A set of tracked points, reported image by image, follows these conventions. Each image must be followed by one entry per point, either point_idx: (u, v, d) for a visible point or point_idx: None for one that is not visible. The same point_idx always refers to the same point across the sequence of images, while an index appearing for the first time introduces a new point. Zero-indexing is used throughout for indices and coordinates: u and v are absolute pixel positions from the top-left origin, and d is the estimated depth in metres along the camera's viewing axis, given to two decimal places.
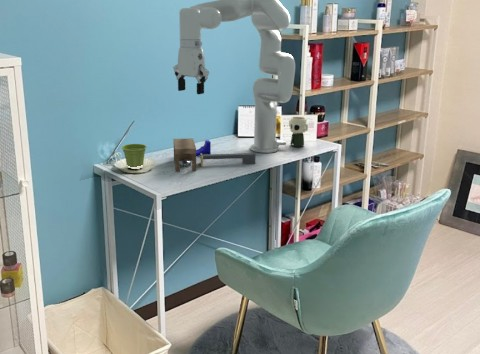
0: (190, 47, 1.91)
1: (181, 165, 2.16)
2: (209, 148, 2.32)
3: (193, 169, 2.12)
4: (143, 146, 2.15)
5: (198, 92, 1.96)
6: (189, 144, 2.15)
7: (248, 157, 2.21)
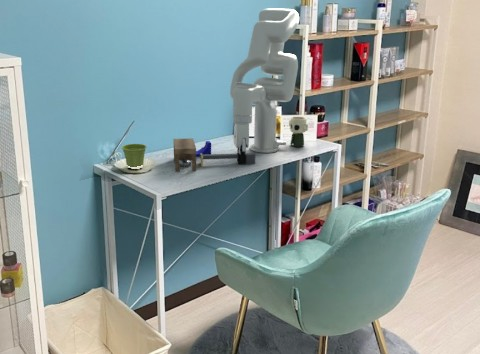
0: None
1: (183, 165, 2.16)
2: (210, 149, 2.30)
3: (193, 169, 2.12)
4: (143, 146, 2.15)
5: None
6: (189, 144, 2.15)
7: (248, 157, 2.21)
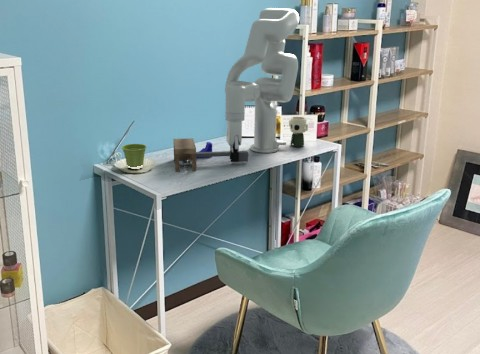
0: None
1: (190, 163, 2.18)
2: (211, 150, 2.29)
3: (193, 169, 2.12)
4: (143, 146, 2.15)
5: None
6: (189, 144, 2.15)
7: (241, 155, 2.20)
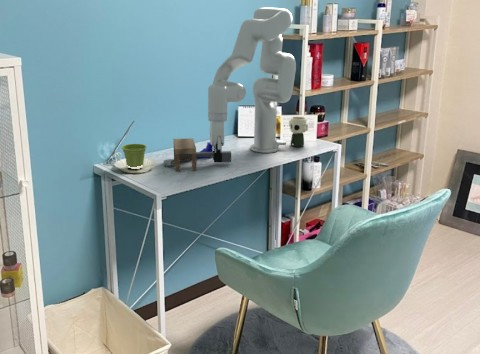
0: None
1: None
2: (211, 150, 2.28)
3: (193, 169, 2.12)
4: (143, 146, 2.15)
5: None
6: (189, 144, 2.15)
7: (224, 155, 2.19)
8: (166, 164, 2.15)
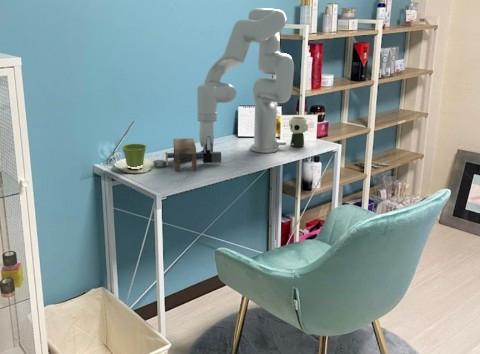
0: None
1: (165, 164, 2.17)
2: (211, 151, 2.28)
3: (193, 169, 2.12)
4: (143, 146, 2.15)
5: None
6: (189, 144, 2.15)
7: (214, 156, 2.18)
8: (155, 165, 2.15)
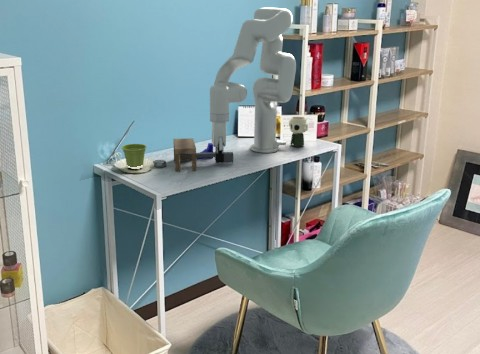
0: None
1: (165, 164, 2.17)
2: (211, 151, 2.28)
3: (193, 169, 2.12)
4: (143, 146, 2.15)
5: None
6: (189, 144, 2.15)
7: (226, 156, 2.19)
8: (155, 164, 2.15)
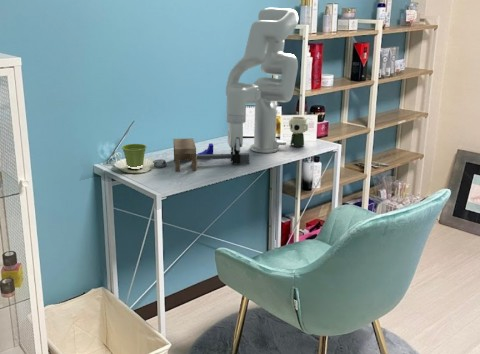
0: None
1: (165, 163, 2.17)
2: (212, 151, 2.27)
3: (193, 169, 2.12)
4: (143, 146, 2.15)
5: None
6: (189, 144, 2.15)
7: (242, 157, 2.20)
8: (156, 164, 2.15)
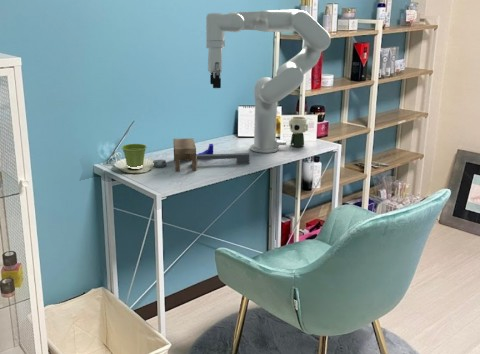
0: None
1: None
2: (212, 152, 2.26)
3: (193, 169, 2.12)
4: (143, 146, 2.15)
5: None
6: (189, 144, 2.15)
7: (242, 157, 2.20)
8: (164, 163, 2.16)
